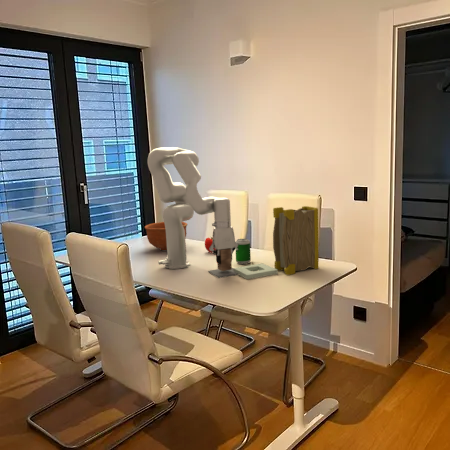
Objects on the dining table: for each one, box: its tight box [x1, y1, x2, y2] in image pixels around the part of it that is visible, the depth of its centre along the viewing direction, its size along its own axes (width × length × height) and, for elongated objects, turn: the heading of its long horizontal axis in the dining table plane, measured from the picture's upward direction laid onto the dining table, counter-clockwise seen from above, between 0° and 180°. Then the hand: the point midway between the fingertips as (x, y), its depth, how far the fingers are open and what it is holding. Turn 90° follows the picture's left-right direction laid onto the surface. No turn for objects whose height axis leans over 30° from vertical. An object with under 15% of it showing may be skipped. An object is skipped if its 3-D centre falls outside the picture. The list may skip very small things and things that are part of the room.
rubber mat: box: [207, 267, 239, 279], centre depth 224 cm, size 12×12×1 cm
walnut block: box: [216, 248, 233, 271], centre depth 223 cm, size 5×5×10 cm
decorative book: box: [272, 205, 319, 276], centre depth 222 cm, size 20×11×30 cm, turn 116°
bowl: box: [144, 221, 188, 251], centre depth 278 cm, size 25×25×15 cm
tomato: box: [204, 236, 216, 254], centre depth 266 cm, size 11×11×9 cm
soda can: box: [235, 238, 252, 265], centre depth 241 cm, size 8×8×12 cm
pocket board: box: [232, 262, 278, 280], centre depth 222 cm, size 16×14×2 cm
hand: (224, 262), depth 223 cm, fingers closed on walnut block, 4 cm apart
